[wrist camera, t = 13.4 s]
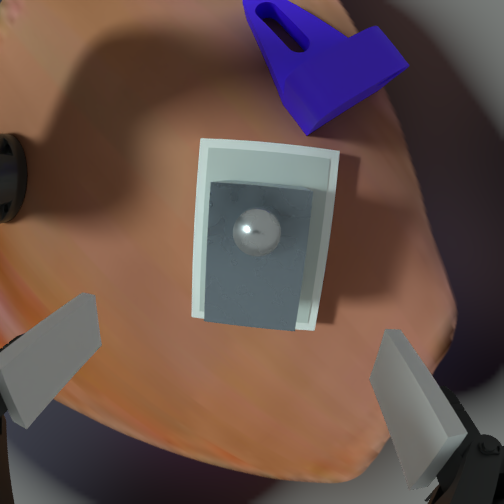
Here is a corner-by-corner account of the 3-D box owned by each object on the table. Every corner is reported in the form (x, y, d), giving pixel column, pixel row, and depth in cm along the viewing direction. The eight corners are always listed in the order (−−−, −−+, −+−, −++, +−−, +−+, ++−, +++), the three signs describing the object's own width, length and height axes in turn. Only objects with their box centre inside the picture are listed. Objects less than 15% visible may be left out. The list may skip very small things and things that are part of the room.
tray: (196, 308, 39) (191, 317, 37) (205, 140, 34) (200, 138, 31) (312, 321, 38) (314, 331, 36) (335, 152, 33) (339, 150, 31)
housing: (221, 290, 36) (200, 333, 26) (228, 179, 32) (207, 182, 22) (290, 298, 35) (294, 343, 25) (303, 186, 32) (315, 192, 22)
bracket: (377, 91, 31) (416, 60, 20) (306, 136, 33) (320, 117, 22) (286, -10, 28) (288, -64, 17) (217, 29, 30) (194, -20, 19)
